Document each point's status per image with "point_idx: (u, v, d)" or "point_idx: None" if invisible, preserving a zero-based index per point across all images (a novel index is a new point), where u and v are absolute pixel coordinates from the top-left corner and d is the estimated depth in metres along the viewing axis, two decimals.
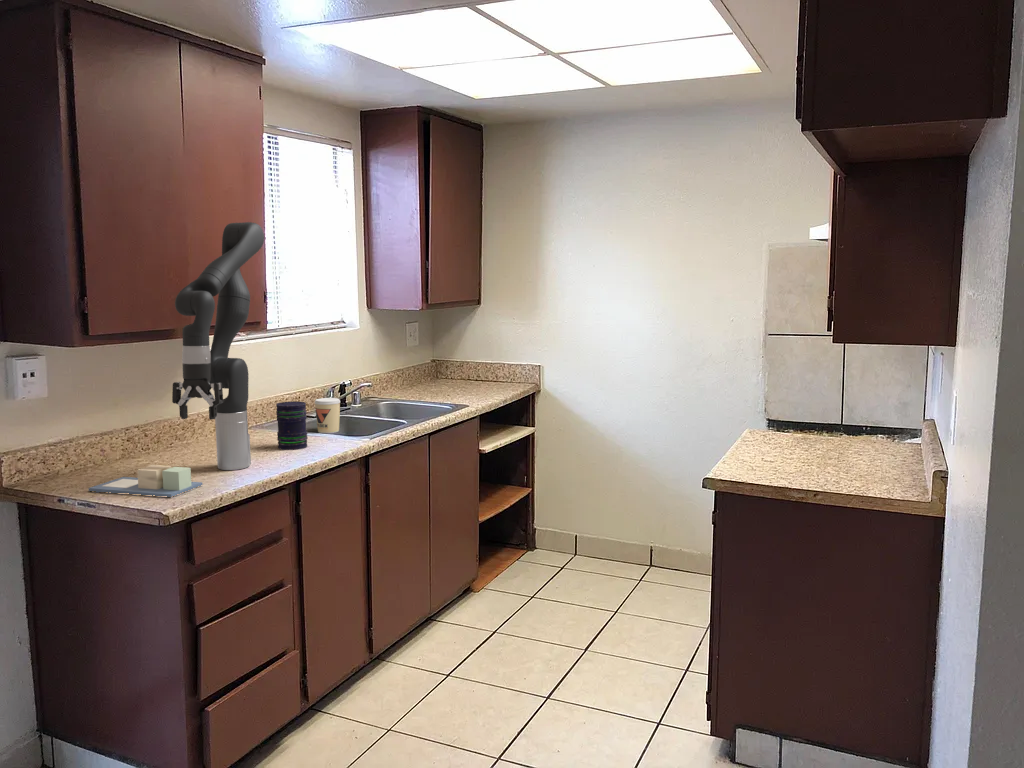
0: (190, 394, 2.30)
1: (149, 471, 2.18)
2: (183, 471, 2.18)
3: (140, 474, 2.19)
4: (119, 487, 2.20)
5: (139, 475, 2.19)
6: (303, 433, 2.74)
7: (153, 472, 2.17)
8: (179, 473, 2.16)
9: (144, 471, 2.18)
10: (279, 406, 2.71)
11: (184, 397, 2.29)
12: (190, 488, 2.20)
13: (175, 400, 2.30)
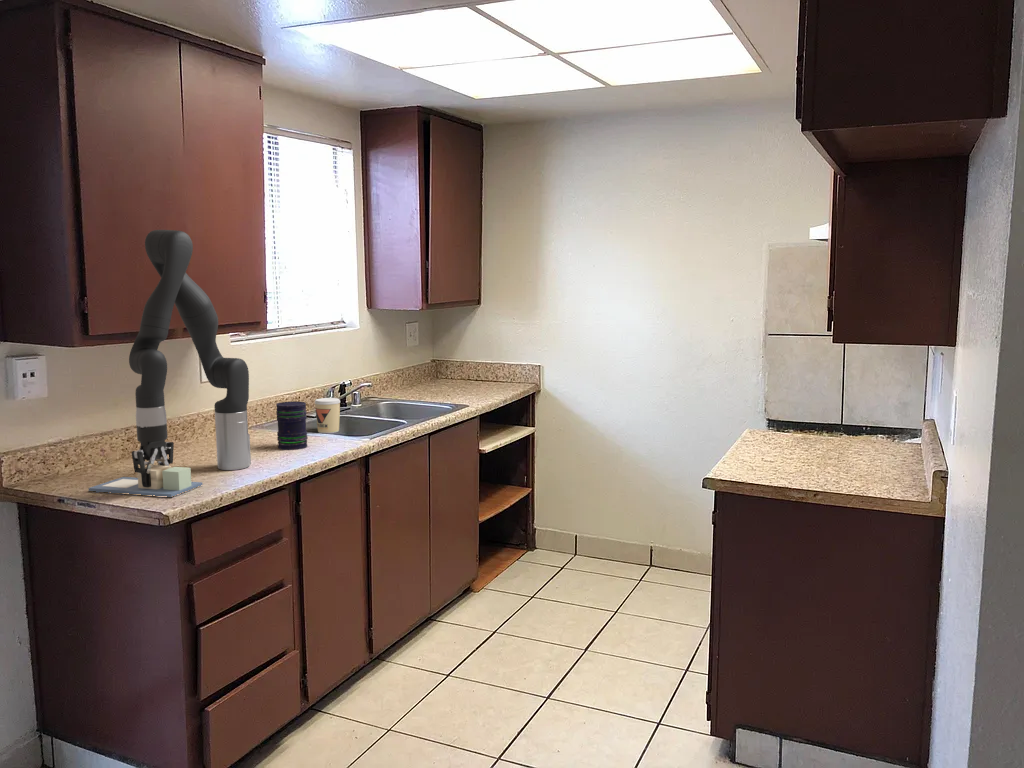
0: None
1: None
2: (183, 471, 2.18)
3: (140, 474, 2.19)
4: (119, 487, 2.20)
5: (139, 475, 2.19)
6: (303, 433, 2.74)
7: (153, 472, 2.17)
8: (179, 473, 2.16)
9: None
10: (279, 406, 2.71)
11: (152, 462, 2.18)
12: (190, 488, 2.20)
13: (144, 469, 2.15)
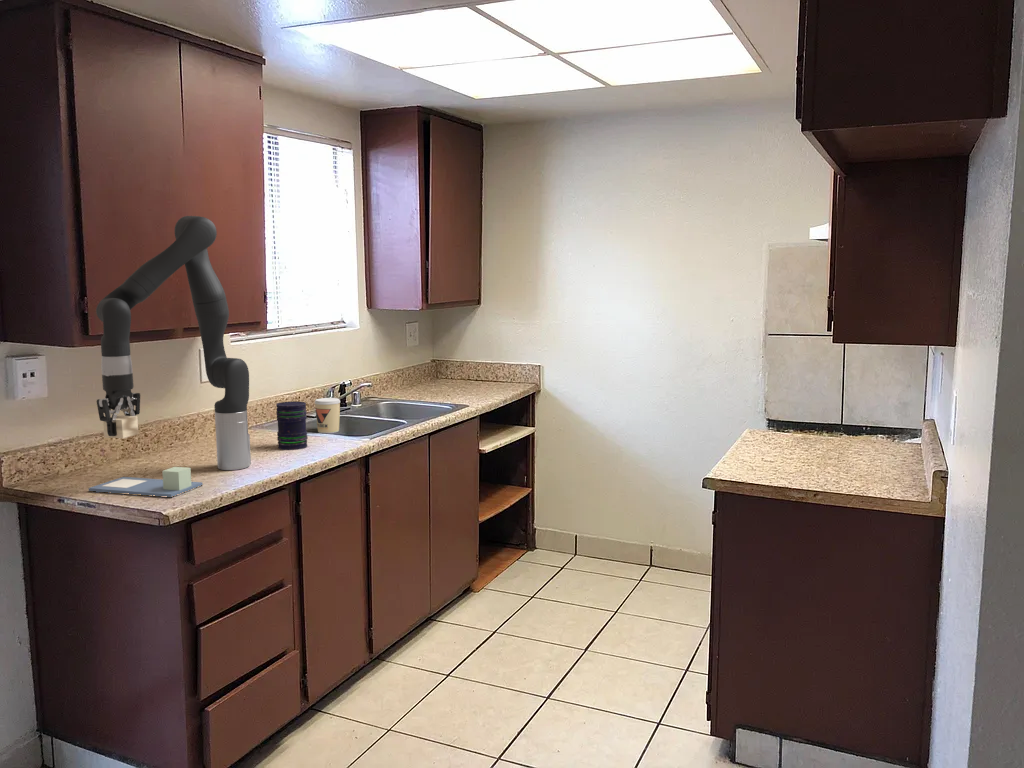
0: None
1: None
2: (183, 471, 2.18)
3: (105, 424, 2.20)
4: (119, 487, 2.20)
5: (104, 424, 2.20)
6: (303, 433, 2.74)
7: (119, 421, 2.18)
8: (179, 473, 2.16)
9: None
10: (279, 406, 2.71)
11: (118, 411, 2.19)
12: (190, 488, 2.20)
13: (109, 417, 2.16)
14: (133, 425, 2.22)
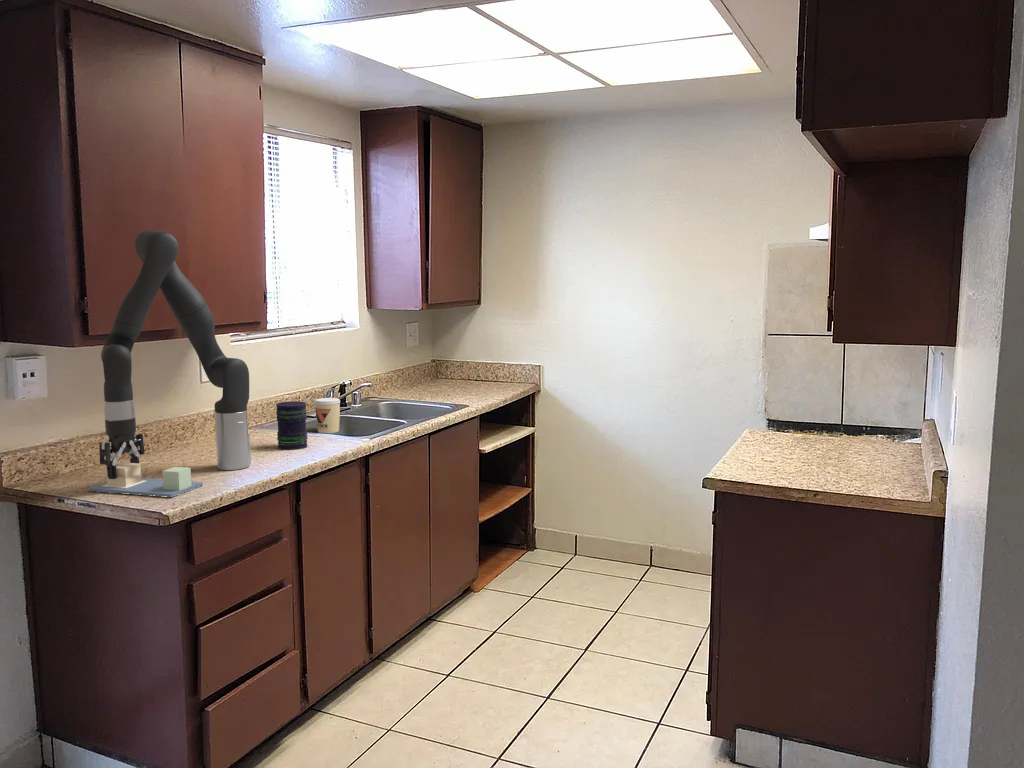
0: (121, 451, 2.21)
1: (118, 468, 2.20)
2: (183, 471, 2.18)
3: None
4: (119, 487, 2.20)
5: None
6: (303, 433, 2.74)
7: (122, 469, 2.20)
8: (179, 473, 2.16)
9: None
10: (279, 406, 2.71)
11: (119, 455, 2.20)
12: (190, 488, 2.20)
13: (109, 461, 2.17)
14: (136, 473, 2.24)
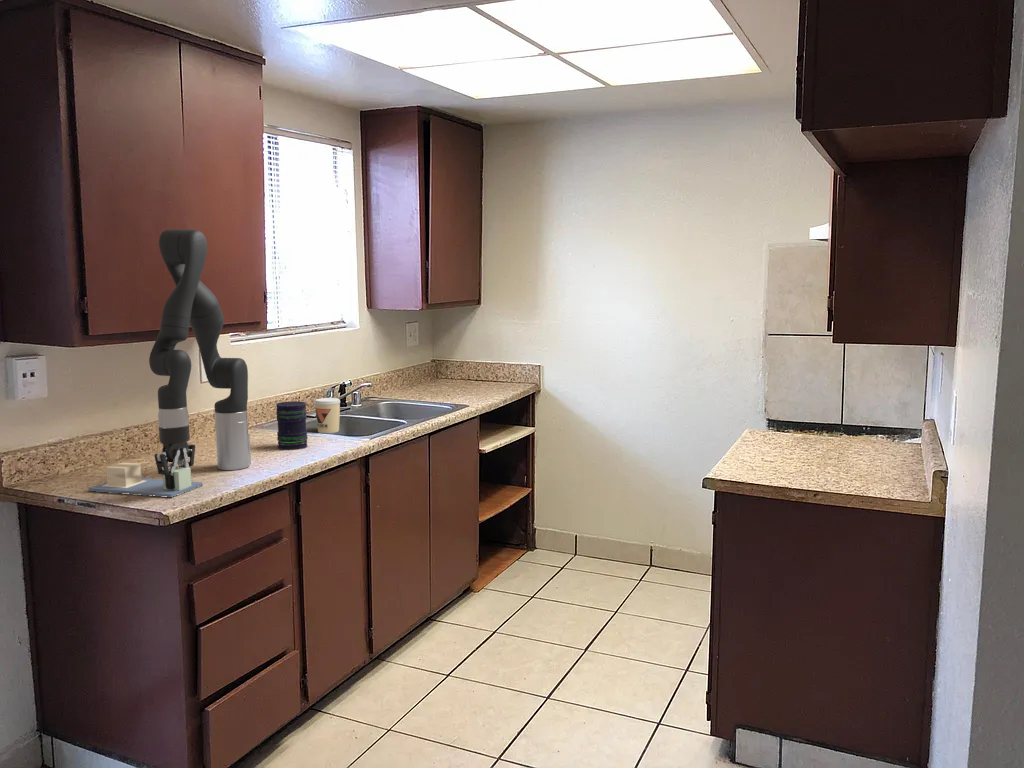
0: None
1: (118, 468, 2.20)
2: (183, 471, 2.18)
3: (109, 472, 2.21)
4: (119, 487, 2.20)
5: (108, 472, 2.21)
6: (303, 433, 2.74)
7: (122, 469, 2.20)
8: (179, 473, 2.16)
9: (113, 468, 2.21)
10: (279, 406, 2.71)
11: (176, 464, 2.16)
12: (190, 488, 2.20)
13: (168, 471, 2.14)
14: (136, 473, 2.24)
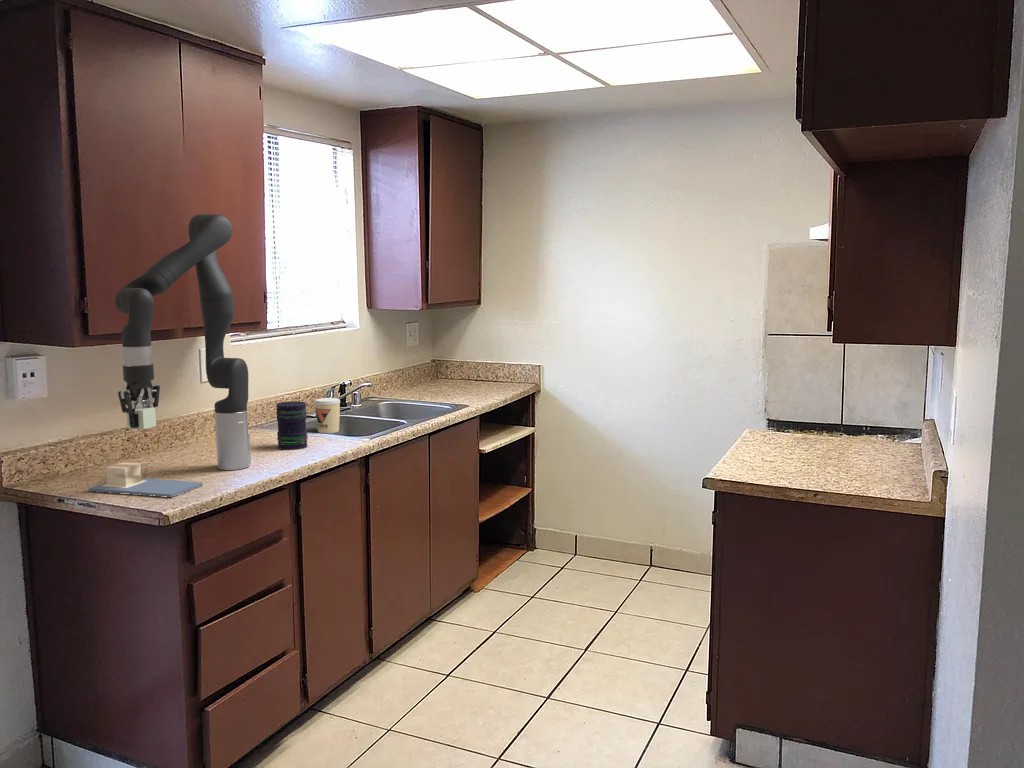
0: None
1: (118, 468, 2.20)
2: (147, 410, 2.18)
3: (109, 472, 2.21)
4: (119, 487, 2.20)
5: (108, 472, 2.21)
6: (303, 433, 2.74)
7: (122, 469, 2.20)
8: (143, 412, 2.17)
9: (113, 468, 2.21)
10: (279, 406, 2.71)
11: (140, 402, 2.16)
12: (190, 488, 2.20)
13: (132, 409, 2.14)
14: (136, 473, 2.24)
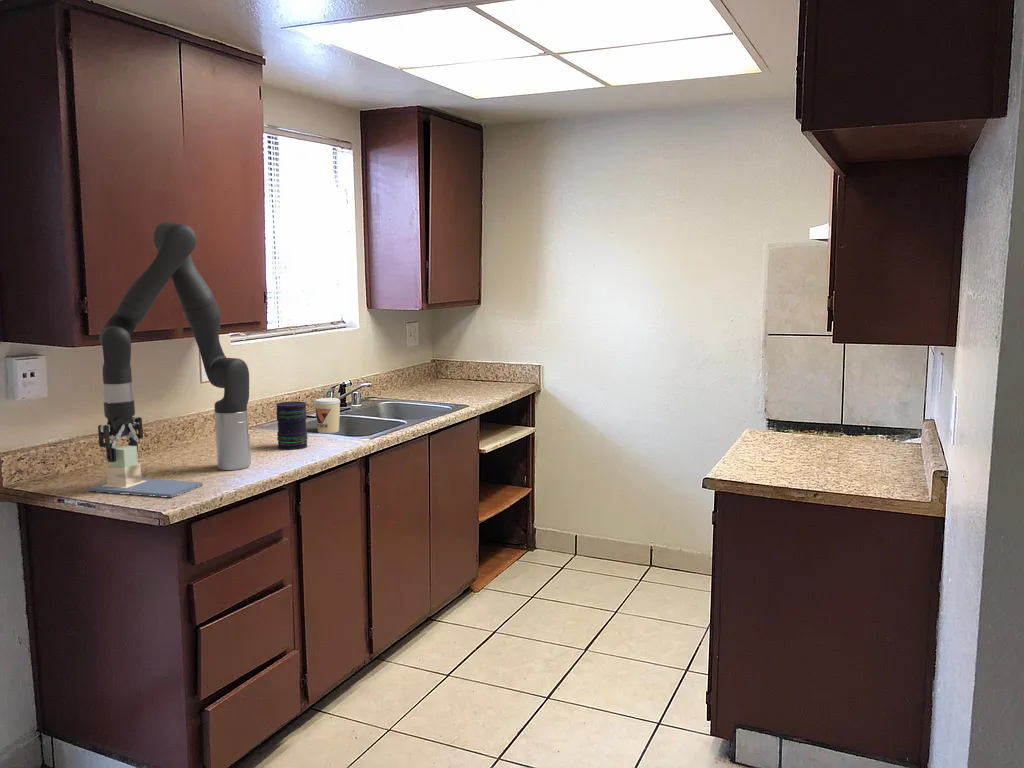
0: None
1: (118, 468, 2.20)
2: (129, 449, 2.22)
3: (109, 472, 2.21)
4: (119, 487, 2.20)
5: (108, 472, 2.21)
6: (303, 433, 2.74)
7: (122, 469, 2.20)
8: (124, 451, 2.20)
9: (113, 468, 2.21)
10: (279, 406, 2.71)
11: (118, 438, 2.19)
12: (190, 488, 2.20)
13: (109, 444, 2.16)
14: (136, 473, 2.24)
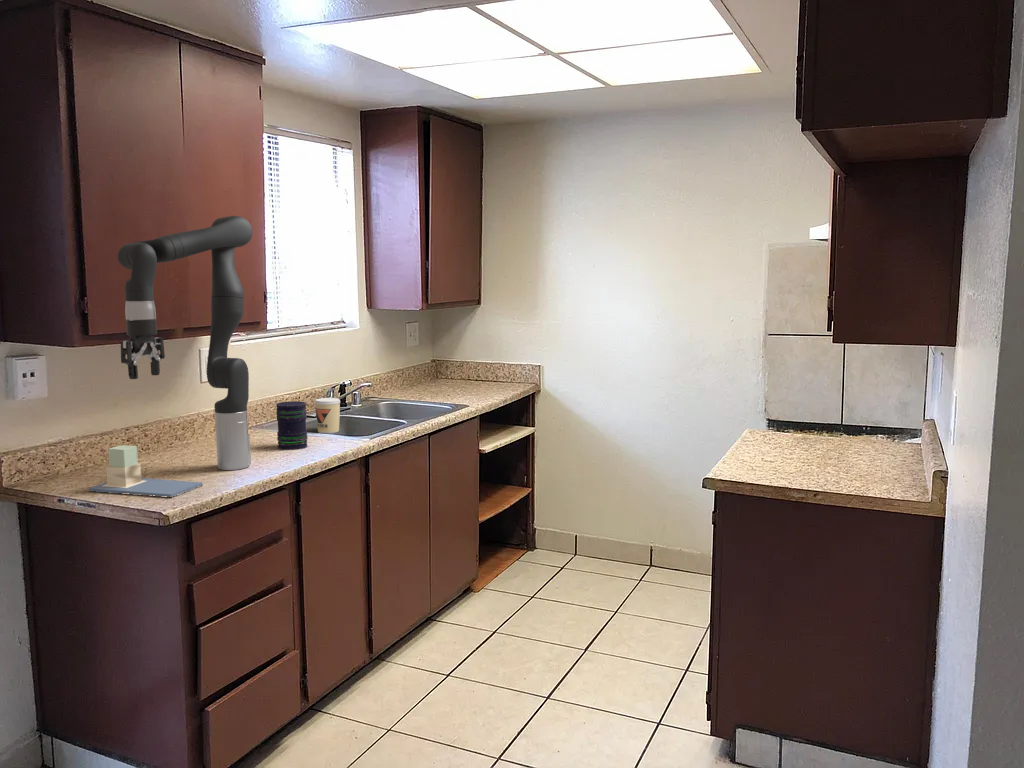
0: None
1: (118, 468, 2.20)
2: (129, 449, 2.22)
3: (109, 472, 2.21)
4: (119, 487, 2.20)
5: (108, 472, 2.21)
6: (303, 433, 2.74)
7: (122, 469, 2.20)
8: (124, 451, 2.20)
9: (113, 468, 2.21)
10: (279, 406, 2.71)
11: (140, 355, 2.19)
12: (190, 488, 2.20)
13: (131, 360, 2.16)
14: (136, 473, 2.24)
